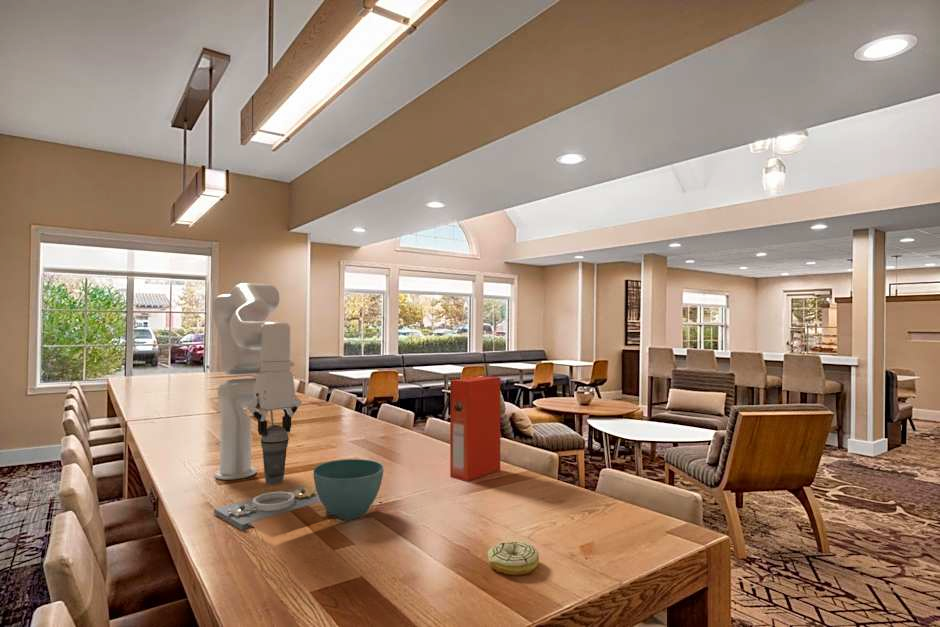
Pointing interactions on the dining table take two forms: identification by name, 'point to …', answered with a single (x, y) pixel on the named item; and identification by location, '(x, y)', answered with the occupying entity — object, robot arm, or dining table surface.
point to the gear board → (262, 514)
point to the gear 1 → (241, 511)
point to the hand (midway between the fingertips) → (274, 432)
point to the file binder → (474, 427)
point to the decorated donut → (513, 558)
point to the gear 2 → (303, 494)
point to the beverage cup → (274, 453)
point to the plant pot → (348, 486)
